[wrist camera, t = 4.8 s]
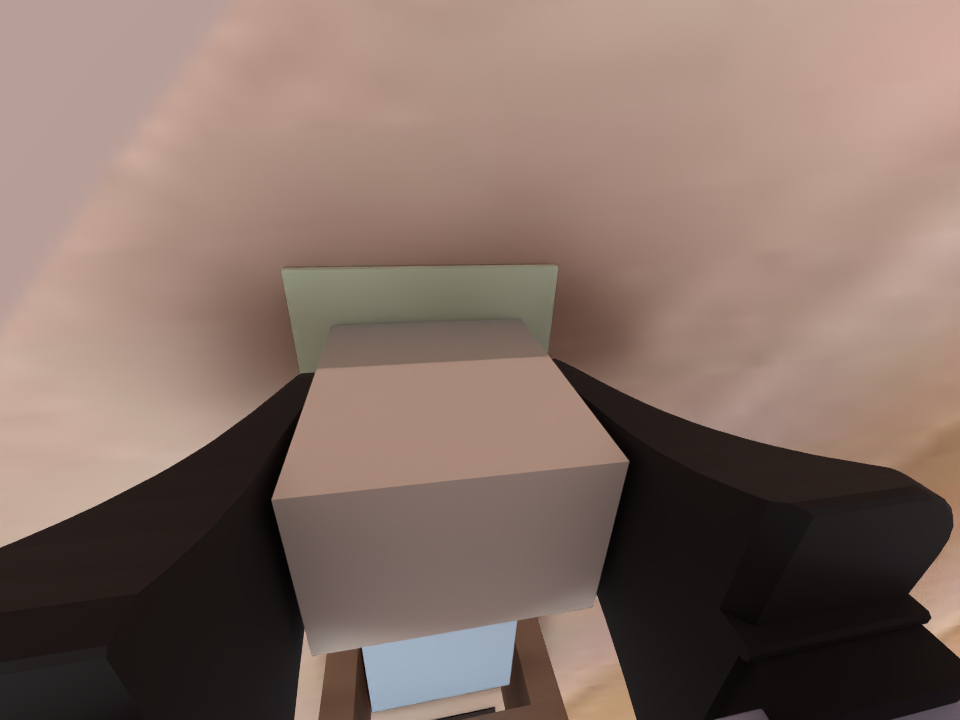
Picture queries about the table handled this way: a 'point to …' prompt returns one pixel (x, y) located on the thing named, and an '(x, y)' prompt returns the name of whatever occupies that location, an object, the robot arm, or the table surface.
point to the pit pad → (471, 714)
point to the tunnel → (527, 716)
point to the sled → (442, 501)
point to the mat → (414, 299)
